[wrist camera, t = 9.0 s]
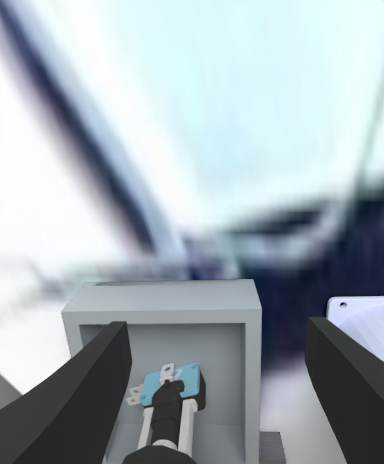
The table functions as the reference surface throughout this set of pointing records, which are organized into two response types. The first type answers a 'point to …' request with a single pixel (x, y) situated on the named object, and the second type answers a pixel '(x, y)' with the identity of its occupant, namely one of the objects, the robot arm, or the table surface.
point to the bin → (183, 355)
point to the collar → (271, 448)
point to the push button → (168, 414)
